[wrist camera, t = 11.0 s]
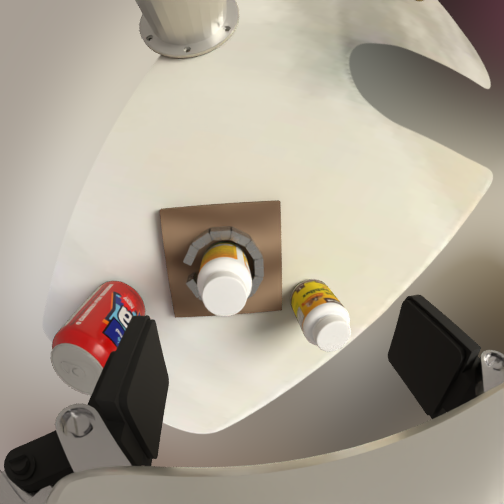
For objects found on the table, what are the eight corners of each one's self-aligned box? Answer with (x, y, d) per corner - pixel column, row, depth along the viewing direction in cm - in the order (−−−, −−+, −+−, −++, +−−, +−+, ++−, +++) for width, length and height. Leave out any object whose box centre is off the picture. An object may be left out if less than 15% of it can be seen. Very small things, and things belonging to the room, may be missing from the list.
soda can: (96, 272, 34) (38, 328, 19) (148, 284, 35) (109, 351, 21) (97, 321, 36) (52, 386, 22) (146, 333, 37) (116, 408, 23)
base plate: (161, 208, 32) (159, 210, 31) (278, 200, 33) (280, 201, 32) (176, 313, 36) (175, 317, 35) (280, 305, 37) (281, 310, 36)
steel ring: (182, 229, 32) (179, 234, 30) (259, 224, 33) (262, 228, 30) (191, 299, 35) (189, 308, 32) (262, 294, 35) (264, 303, 33)
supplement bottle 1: (193, 265, 33) (181, 301, 24) (221, 231, 33) (218, 256, 23) (228, 291, 35) (229, 333, 25) (256, 259, 34) (267, 292, 25)
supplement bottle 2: (330, 276, 37) (362, 311, 27) (326, 312, 38) (353, 354, 29) (290, 278, 36) (311, 317, 27) (288, 315, 38) (306, 360, 28)
